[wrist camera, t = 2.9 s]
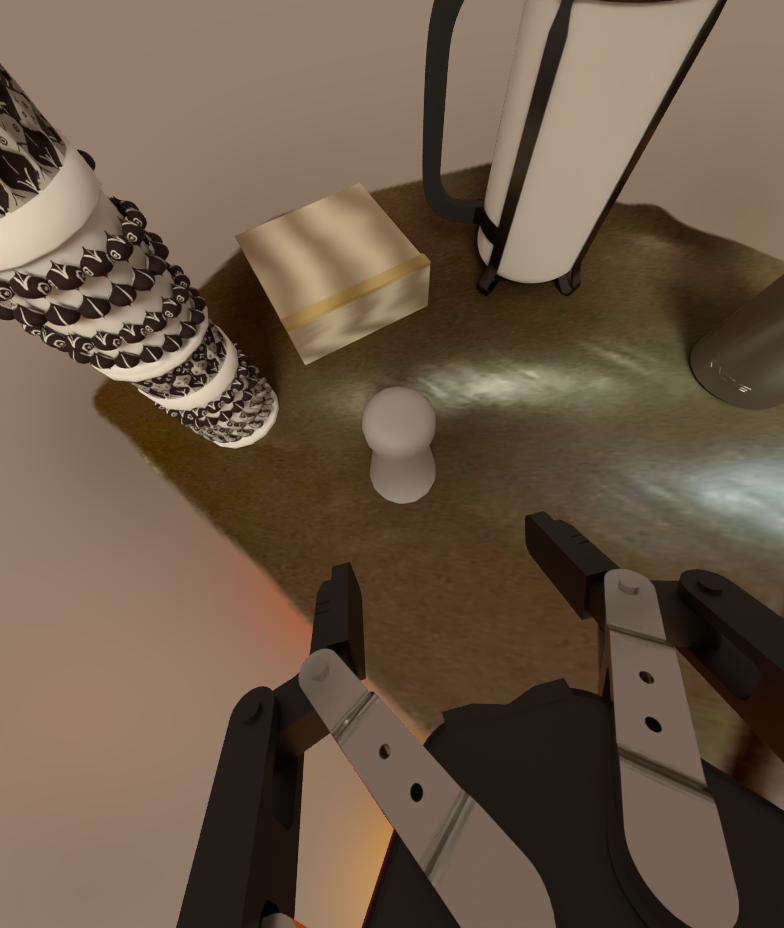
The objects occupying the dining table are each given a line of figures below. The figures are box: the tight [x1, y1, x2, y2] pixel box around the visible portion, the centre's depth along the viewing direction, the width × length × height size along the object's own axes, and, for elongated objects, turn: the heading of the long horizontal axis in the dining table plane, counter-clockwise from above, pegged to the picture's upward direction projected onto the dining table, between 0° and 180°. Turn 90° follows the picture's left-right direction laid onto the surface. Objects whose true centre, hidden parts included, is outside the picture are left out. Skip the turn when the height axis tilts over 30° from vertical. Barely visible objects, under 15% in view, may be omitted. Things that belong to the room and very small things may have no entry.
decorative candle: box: [0, 64, 279, 448], centre depth 20 cm, size 9×9×25 cm
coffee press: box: [423, 0, 727, 296], centre depth 22 cm, size 17×16×30 cm
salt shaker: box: [362, 386, 436, 504], centre depth 22 cm, size 6×6×13 cm
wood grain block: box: [235, 183, 430, 365], centre depth 34 cm, size 16×16×5 cm
